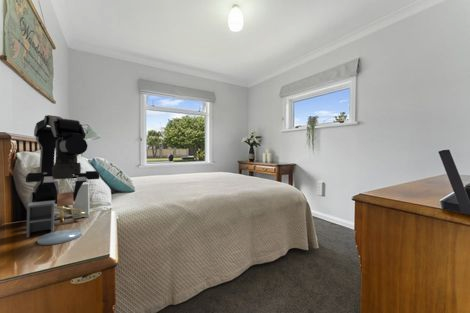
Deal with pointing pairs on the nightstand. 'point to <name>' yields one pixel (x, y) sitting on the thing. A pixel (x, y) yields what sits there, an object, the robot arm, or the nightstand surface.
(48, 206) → the covering hood
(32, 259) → the nightstand surface
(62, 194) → the block
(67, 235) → the dish
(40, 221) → the empty hood
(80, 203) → the skincare box
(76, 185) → the robot arm
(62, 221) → the balance
